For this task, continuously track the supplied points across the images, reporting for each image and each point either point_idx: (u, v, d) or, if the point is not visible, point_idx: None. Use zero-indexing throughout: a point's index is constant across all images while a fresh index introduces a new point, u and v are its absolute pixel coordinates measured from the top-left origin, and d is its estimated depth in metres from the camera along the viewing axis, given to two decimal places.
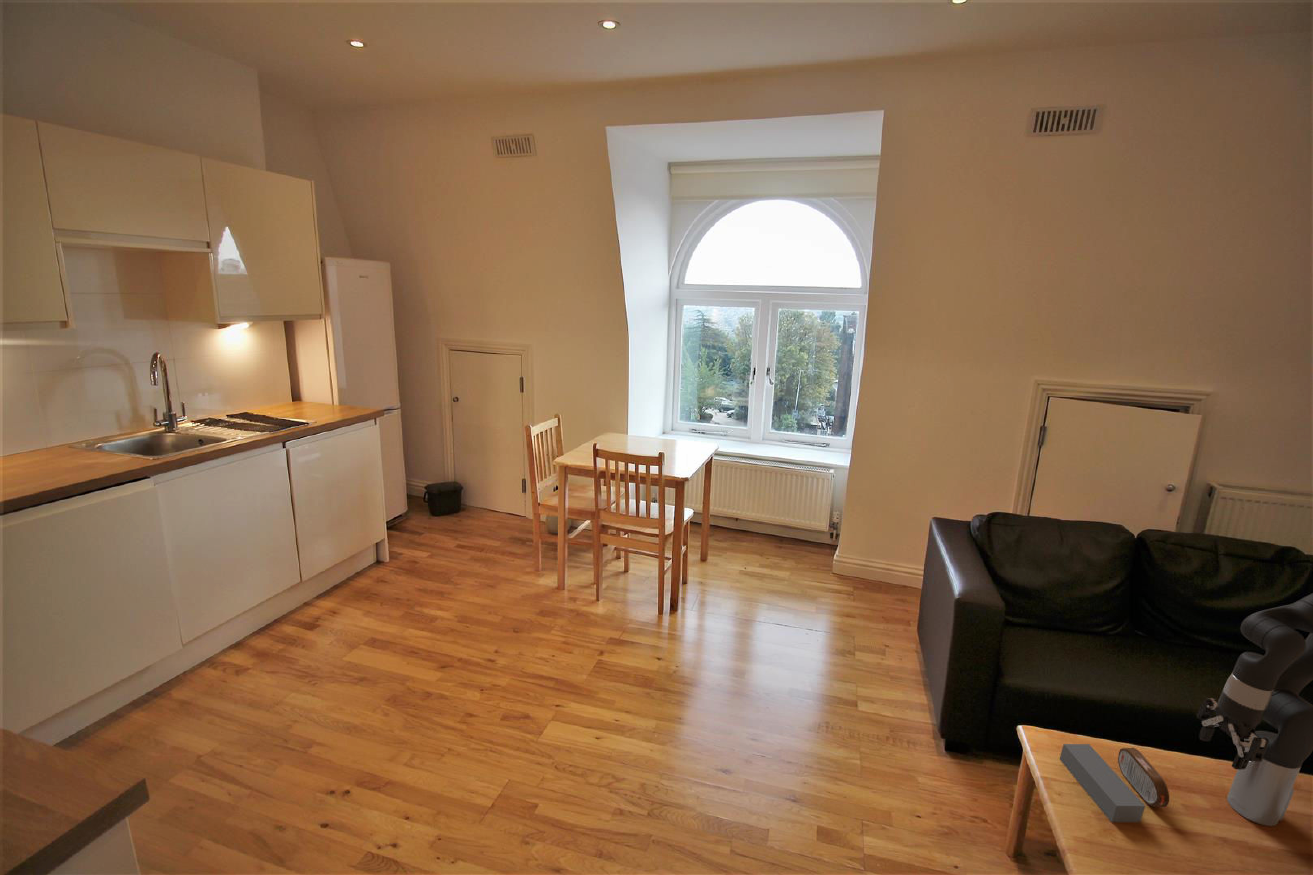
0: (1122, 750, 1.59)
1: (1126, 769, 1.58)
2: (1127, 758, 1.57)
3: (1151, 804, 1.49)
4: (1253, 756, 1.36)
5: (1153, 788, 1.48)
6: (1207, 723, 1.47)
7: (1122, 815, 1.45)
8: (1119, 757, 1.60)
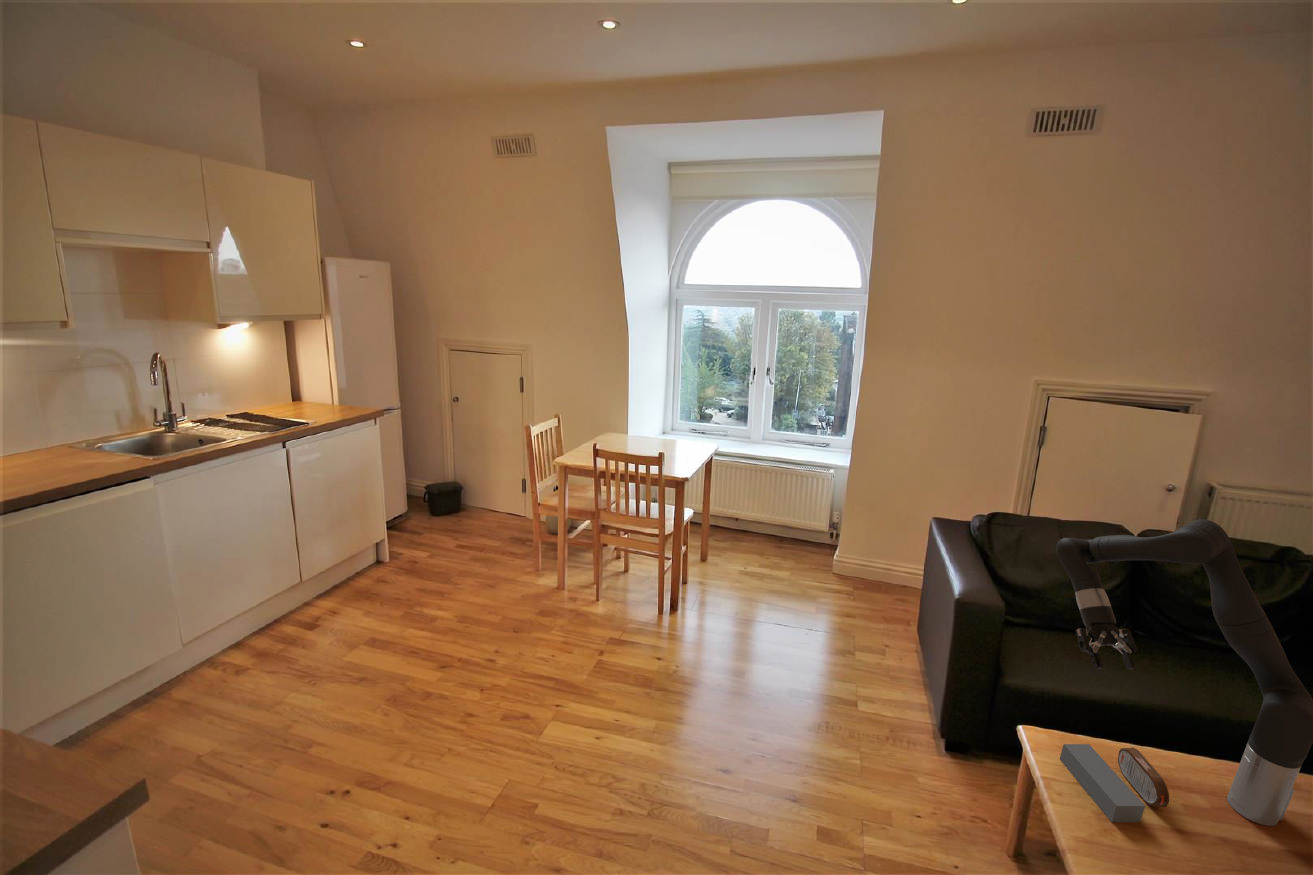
0: (1122, 750, 1.59)
1: (1126, 769, 1.58)
2: (1127, 758, 1.57)
3: (1151, 804, 1.49)
4: (1079, 645, 1.66)
5: (1153, 788, 1.48)
6: None
7: (1122, 815, 1.45)
8: (1119, 757, 1.60)
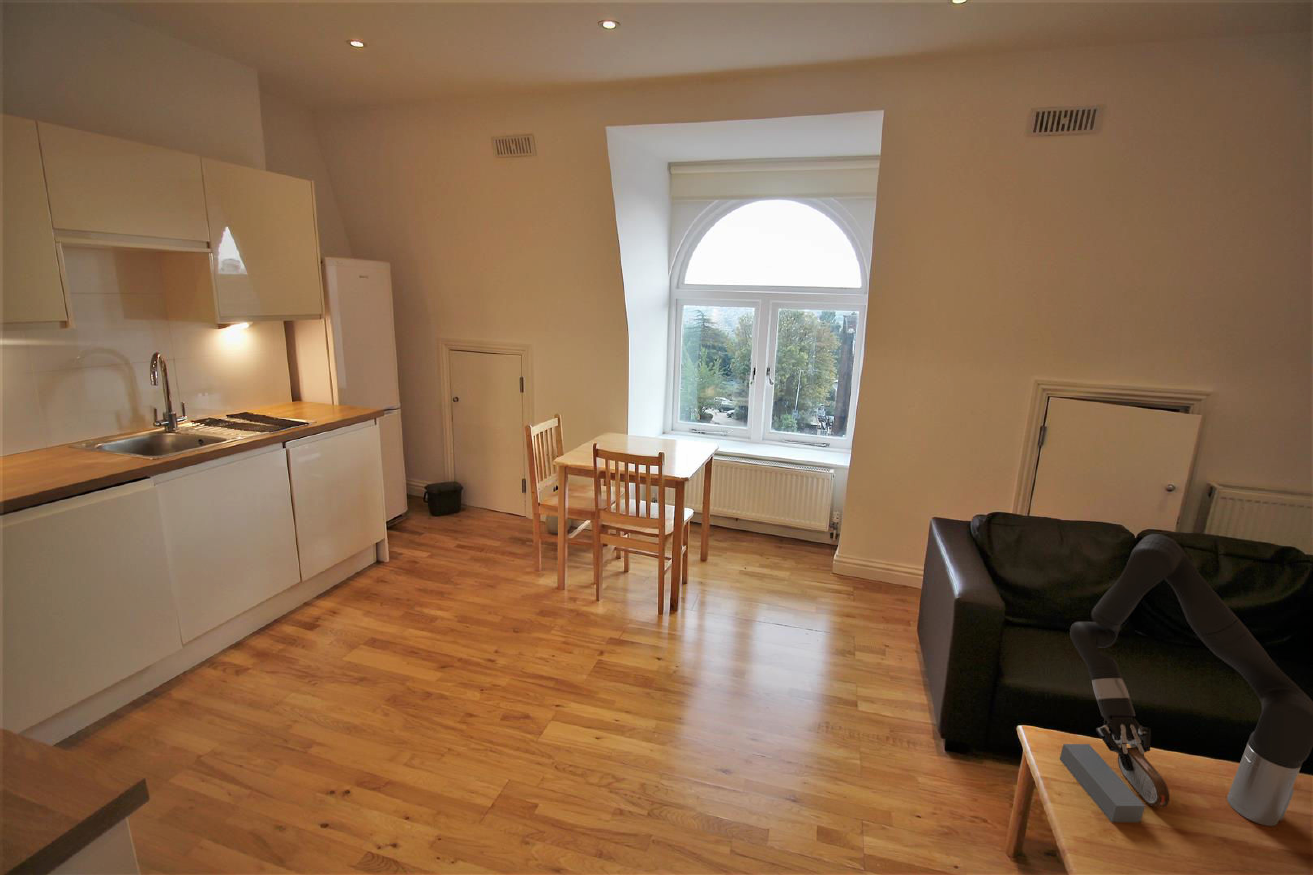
0: None
1: None
2: None
3: (1151, 804, 1.49)
4: None
5: (1153, 788, 1.48)
6: None
7: (1122, 815, 1.45)
8: (1119, 757, 1.60)
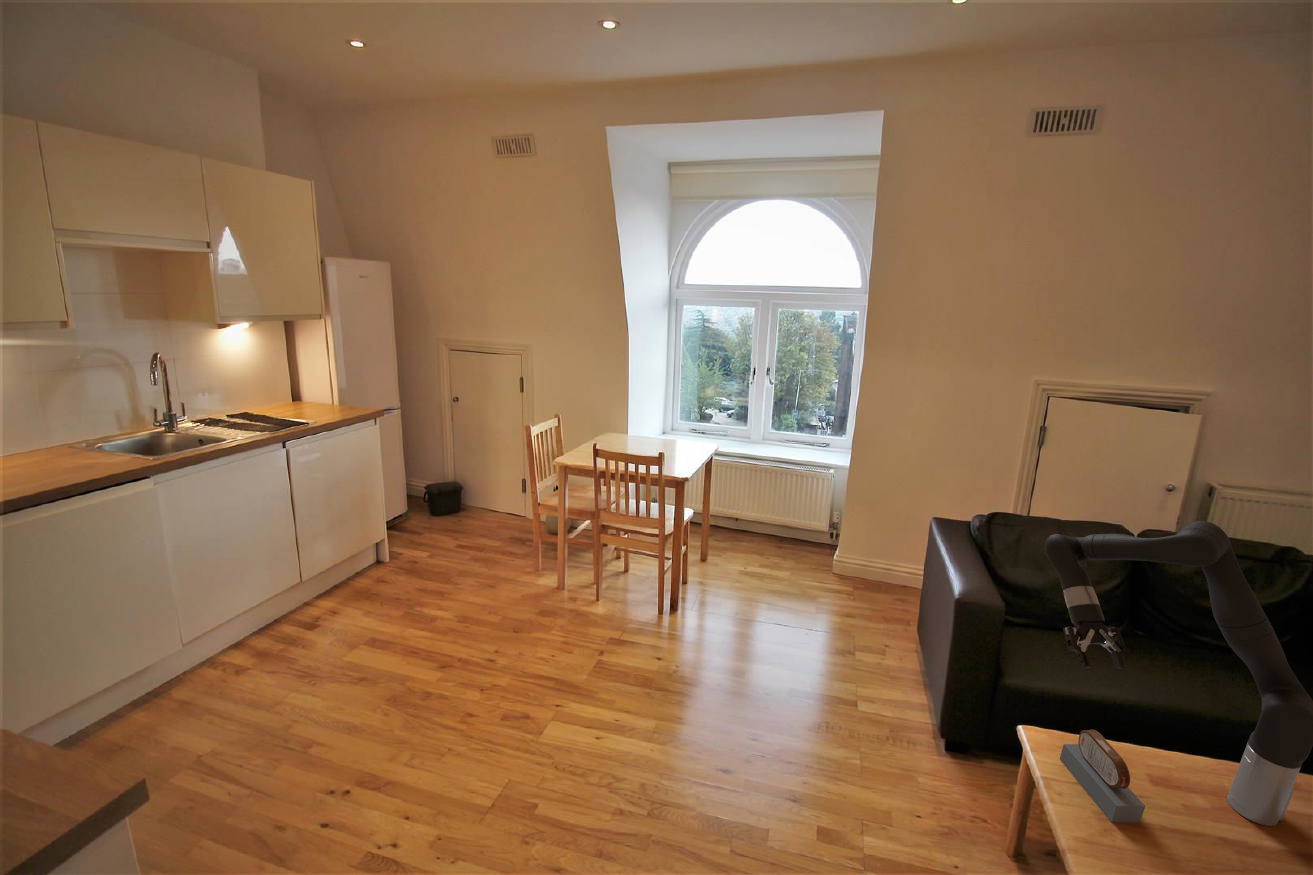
0: (1082, 733, 1.58)
1: (1087, 751, 1.56)
2: (1088, 740, 1.56)
3: (1112, 786, 1.47)
4: None
5: (1114, 770, 1.47)
6: None
7: (1122, 815, 1.45)
8: (1079, 740, 1.59)
